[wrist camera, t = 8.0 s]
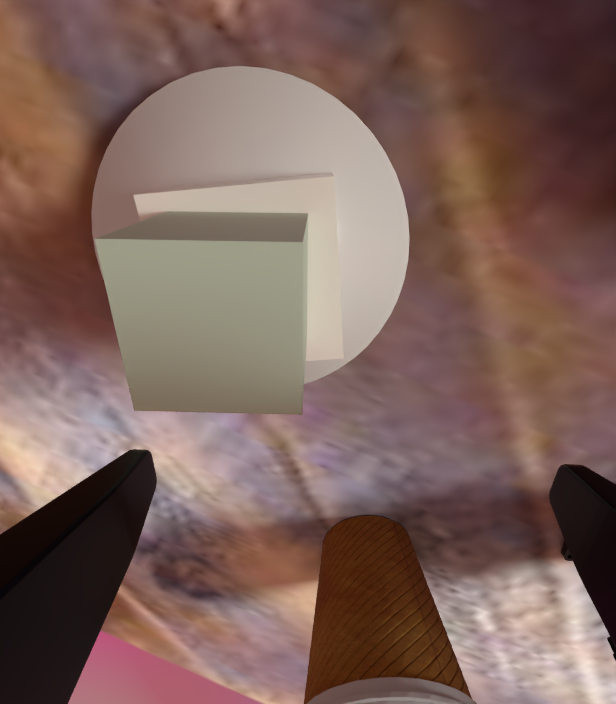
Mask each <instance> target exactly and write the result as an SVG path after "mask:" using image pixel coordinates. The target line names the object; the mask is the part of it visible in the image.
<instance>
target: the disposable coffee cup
mask: <svg viewBox="0 0 616 704" xmlns="http://www.w3.org/2000/svg"><path fill="white" fill-rule="evenodd" d="M304 704H476V702H475V701H473V700H472V698H471V695H470V693H469V690H468V686H467V684H466V682H465V679H464V677H463V675H462V671H461V669H460V666H459V664H458V662H457V658H456V656H455V654H454V651H453V649H452V645H451V643H450V641H449V638H448V636H447V632H446V630H445V628H444V626H443V623H442V620H441V618H440V615H439V613H438V610H437V607H436V605H435V603H434V599H433V597H432V595H431V592H430V589H429V587H428V585H427V581H426V579H425V577H424V574H423V571H422V569H421V566H420V563H419V561H418V559H417V556H416V553H415V551H414V548H413V545H412V543H411V540H410V537H409V535H408V533H407V532H406V530H405V529H404V528H403V527H402V526H401V525H399V524H398V523H396V522H394V521H392V520H390V519H387V518H383V517H378V516H359V517H353V518H350V519H347V520H344V521H342V522H340V523H338V524H337V525H335V526H334V527H333V528H331V530H330V531H329V532H328V533H327V534H326V536H325V538H324V541H323V549H322V558H321V566H320V575H319V583H318V591H317V598H316V607H315V616H314V624H313V631H312V641H311V649H310V658H309V665H308V675H307V682H306V690H305V699H304Z"/></svg>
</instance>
